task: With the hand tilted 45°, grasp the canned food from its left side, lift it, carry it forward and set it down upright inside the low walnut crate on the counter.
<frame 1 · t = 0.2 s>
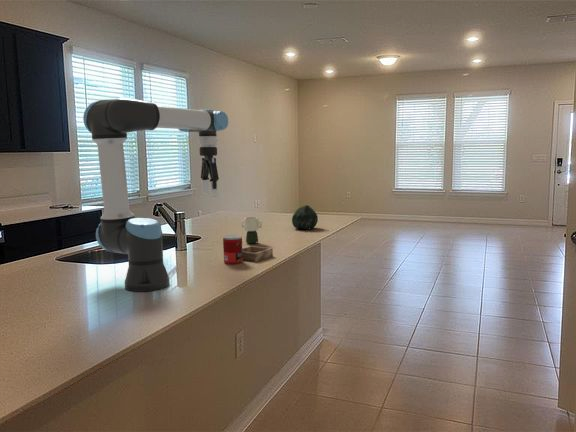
hand: (210, 195, 216), 27 cm above the countertop, tool pointing down, fingers open, 13 cm apart
crate: (253, 257, 217), on the countertop
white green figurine: (252, 243, 250), on the countertop
canned food: (233, 262, 208), on the countertop
squash: (305, 229, 292), on the countertop
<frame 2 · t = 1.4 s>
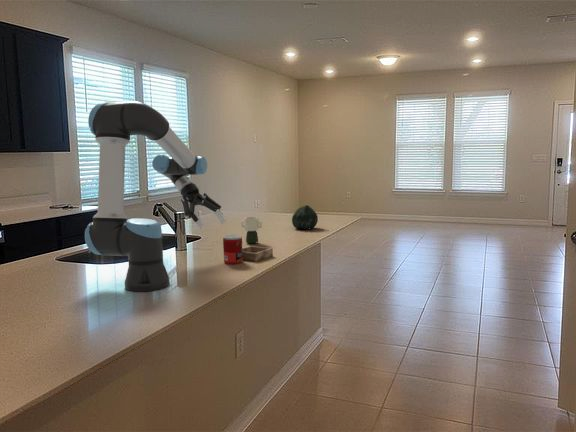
hand: (213, 224, 212), 15 cm above the countertop, tool tilted 45°, fingers open, 13 cm apart
nothing on the countertop moved.
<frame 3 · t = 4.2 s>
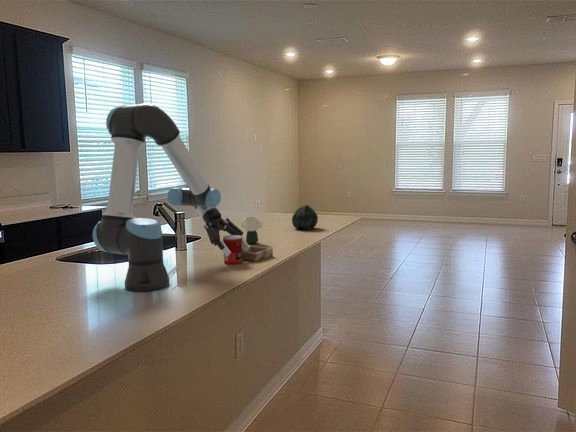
hand: (238, 251, 206), 5 cm above the countertop, tool tilted 45°, fingers open, 11 cm apart
nothing on the countertop moved.
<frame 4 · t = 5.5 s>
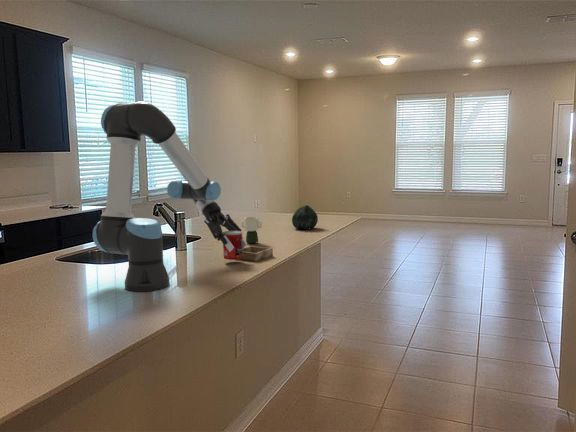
hand: (238, 247, 205), 6 cm above the countertop, tool tilted 45°, fingers closed on canned food, 8 cm apart
canned food: (233, 258, 207), point 2 cm above the countertop, touching gripper
everything else where it was.
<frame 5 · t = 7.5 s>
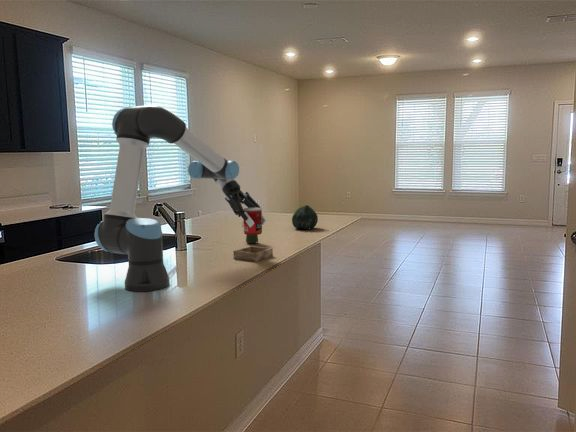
hand: (258, 223, 213), 15 cm above the countertop, tool tilted 45°, fingers closed on canned food, 8 cm apart
canned food: (253, 234, 215), point 10 cm above the countertop, touching gripper
everything else where it was.
when the fingers open (6 cm above the countertop, at t = 9.4 s): canned food stays where it is, resting on crate.
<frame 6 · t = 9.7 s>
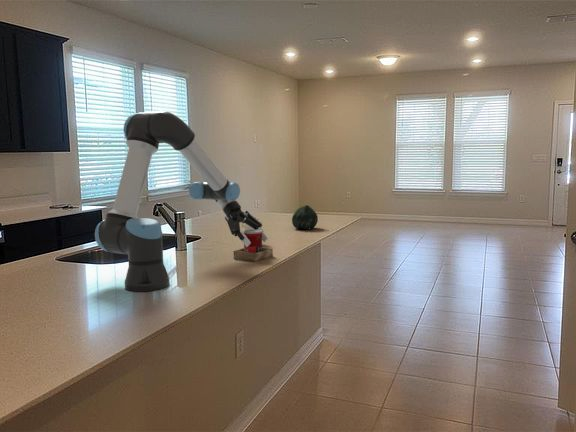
hand: (257, 242, 214), 7 cm above the countertop, tool tilted 45°, fingers open, 11 cm apart
canned food: (253, 256, 216), point 1 cm above the countertop, touching crate
everything else where it was.
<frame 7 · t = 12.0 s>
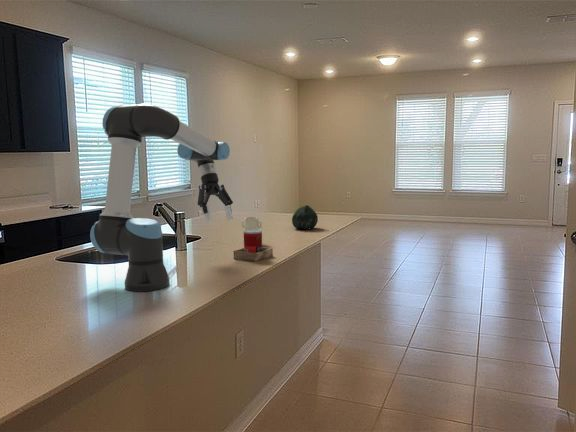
hand: (220, 220, 220), 16 cm above the countertop, tool tilted 20°, fingers open, 13 cm apart
nothing on the countertop moved.
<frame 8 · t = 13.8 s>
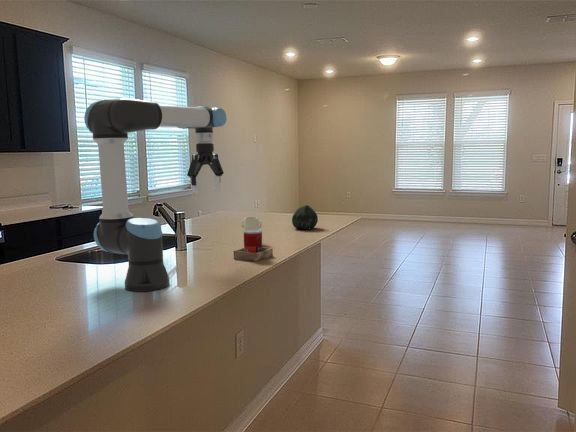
hand: (206, 191, 218), 29 cm above the countertop, tool pointing down, fingers open, 13 cm apart
nothing on the countertop moved.
at the end: canned food inside the target area on the crate (0.2 cm from its centre), point 0.6 cm above the crate's base; canned food tilted 0°; the gripper is holding nothing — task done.
